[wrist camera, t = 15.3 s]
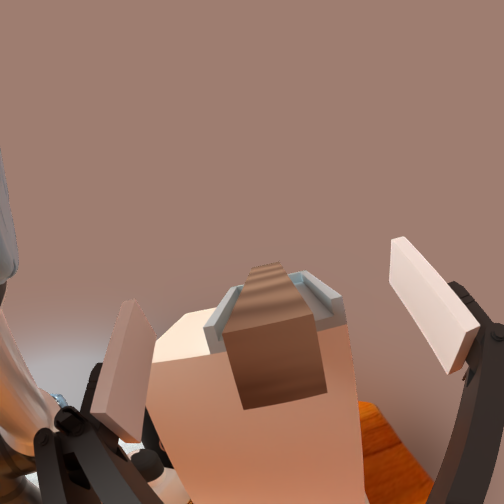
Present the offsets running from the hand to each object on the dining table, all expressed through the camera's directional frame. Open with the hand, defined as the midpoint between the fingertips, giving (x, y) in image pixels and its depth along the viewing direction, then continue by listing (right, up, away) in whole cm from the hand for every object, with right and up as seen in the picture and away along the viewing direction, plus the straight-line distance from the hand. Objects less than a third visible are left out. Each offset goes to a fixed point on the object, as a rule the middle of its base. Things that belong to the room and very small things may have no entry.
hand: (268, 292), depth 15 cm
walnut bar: (+1, -4, +14) cm, 15 cm away
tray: (+2, -5, +21) cm, 22 cm away
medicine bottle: (-15, -40, +21) cm, 48 cm away
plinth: (+5, -35, +22) cm, 42 cm away
